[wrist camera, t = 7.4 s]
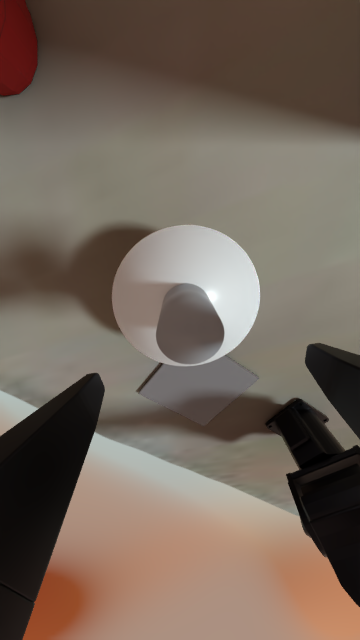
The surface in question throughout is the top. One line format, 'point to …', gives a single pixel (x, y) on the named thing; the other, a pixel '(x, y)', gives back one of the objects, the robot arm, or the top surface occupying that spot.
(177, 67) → the top surface
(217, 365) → the mat
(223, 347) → the lid
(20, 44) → the plastic cup
